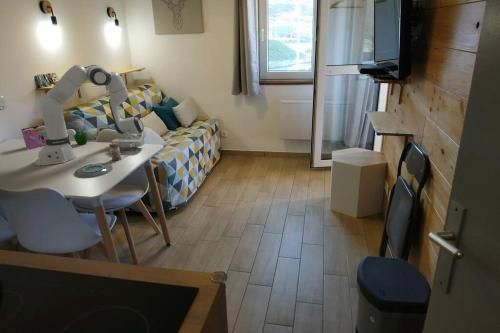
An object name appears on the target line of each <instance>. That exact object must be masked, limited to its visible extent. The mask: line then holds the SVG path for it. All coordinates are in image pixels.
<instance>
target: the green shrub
mask: <svg viewBox="0 0 500 333" xmlns="http://www.w3.org/2000/svg"><path fill="white" fill-rule="evenodd" d="M73 139H74V141H75V142H76V145H79V146H82V145H86V144H87V143H88V134H87V133H86V132H82V131H81V129H78V132H76V133H75V134H74V135H73Z"/></svg>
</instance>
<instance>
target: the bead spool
mask: <svg viewBox="0 0 500 333" xmlns="http://www.w3.org/2000/svg"><path fill="white" fill-rule="evenodd" d="M108 146H109V148H110V149H109V150H110V155H111V161H112V162H119V161H121V160H122V156H121V150H120V146H119V143H112V142H111V143H109V145H108Z"/></svg>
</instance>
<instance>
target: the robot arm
mask: <svg viewBox="0 0 500 333" xmlns="http://www.w3.org/2000/svg"><path fill="white" fill-rule="evenodd" d="M86 82H90V83H92V84H94V85H95V86H97V87H98V86H100V87H101V86H106V88H107V90H108V92H109V96H110V98H109V99H108V105H109V109H110V113H111V116H112V120H113V125H114V130H115V131H116V133H118V134H120V135H125V134H126V136H125V137H123V138H122V137H121V138H119V137H118V138H115V139H113V140H111V143H119V146H118V147H128V148H132V147H133V148H134V147H135V148H137V147H140V148H141V147H142V146H145V139H146V137H147V132H146V130H145V129H144V124H143V121H142V120H141V119H140V117H137V116H132V117H127V118H122V116H121V114H120V109H119V106H120V105H121V104H123V103H124V102H125V101H126V100H127V99H128V96H129V91H128V89H127V86H126V84H125V82H124V80H123V78H122V76H121V75H120V73H118V72H116V71H110V72H108V71H106V70H105V69H104V68H103V67H102V66H99V65H96V64H91V65H88V66H82V65H80V64H74V65H73V66H71V67H70V68H69V69H68V70H67V71H66V72H64V74H62V76H61V77H60V78H59V80H58V81H57V82H56V84H54V86H52V88H50V89H49V90H48V91H47V93H46V94H44V95H43V97H42V98H41V99H40V101H39V108H40V109H39V110H40V113H41V117H42V120H43V125H45V128H46V132H47V136H48V138H45V143H46V146H42V147H41V149H40V150H39V152H38V156H37V157H38V158H37V159H36V160H35V163H34V164H35V165H36V166H38V167H39V166H40V165H41V166H47V165H49V166H50V165H57V164H58V165H59V164H64V163H67V162H68V161H72V160H73V159H75V158H76V154H75V152H74V150H73V148H72V147H73V146H72V145H71V144H72V143H71V138H70V136H69V133H68V131H67V126H66V125H67V124H66V122H65V116H64V112H63V111H64V110H63V106H65V104H66V103H67V102H68V101H70V99H72V98H73V97H74V96H75V94H76V93H77V92H78V90H79V89H80V88H81V87H82V86H83V85H84V84H85V83H86ZM127 133H128V134H127Z"/></svg>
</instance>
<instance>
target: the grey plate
mask: <svg viewBox="0 0 500 333" xmlns="http://www.w3.org/2000/svg"><path fill="white" fill-rule="evenodd" d="M112 170H113V165H112V164H110V163H107V162H106V163H105V162H104V163H103V162H98V163H90V164H87V165H84V166H81V167H79V168H77V169H75V171H74V175H75V177H77V178H84V179H87V178H95V177H100V176H103V175H106V174H108V173H110V172H111V171H112Z"/></svg>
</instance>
